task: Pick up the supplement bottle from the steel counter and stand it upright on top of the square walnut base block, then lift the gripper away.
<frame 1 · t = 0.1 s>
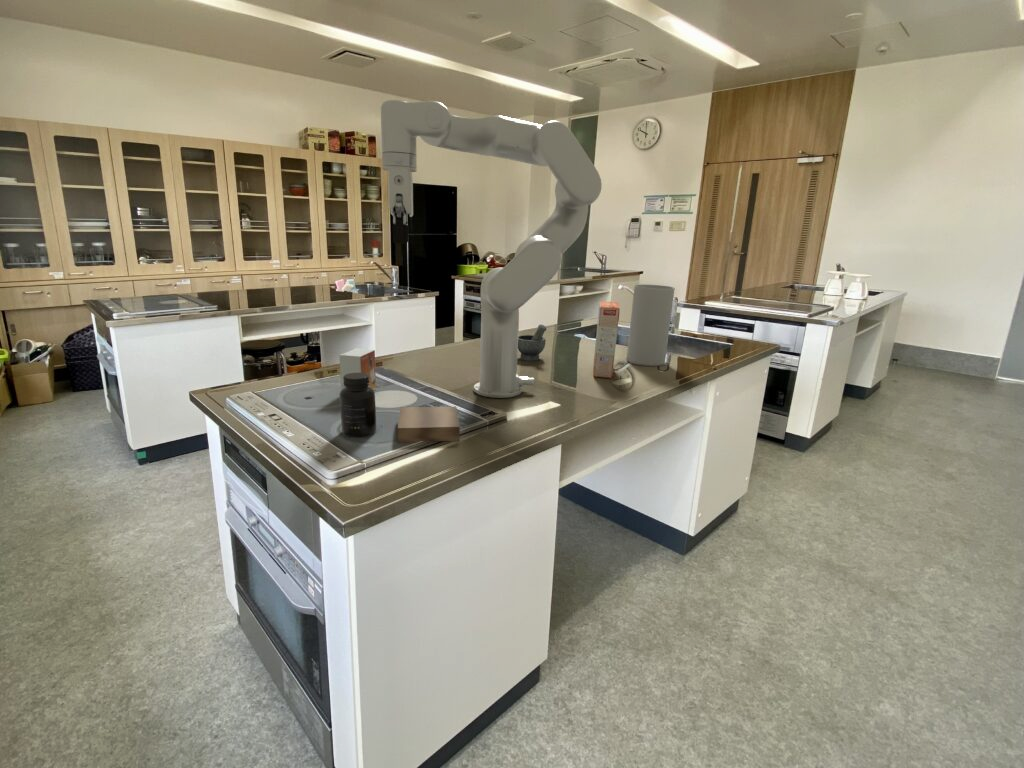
hand: (401, 242, 120), 37 cm above the countertop, tool pointing down, fingers open, 9 cm apart
cylinder vase: (645, 362, 172), on the countertop
cracker box: (602, 372, 157), on the countertop
walnut base: (428, 430, 107), on the countertop
mortar and pestle: (531, 359, 170), on the countertop
small box: (359, 393, 129), on the countertop
supplement bottle: (359, 432, 105), on the countertop
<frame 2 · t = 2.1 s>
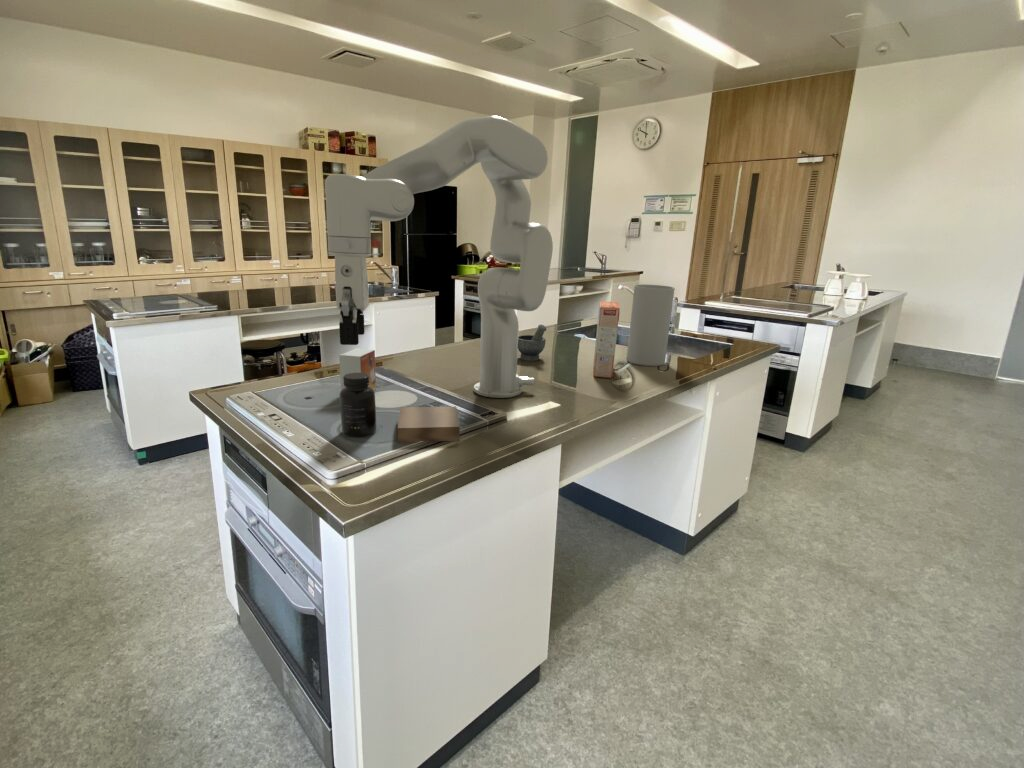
hand: (352, 339, 99), 19 cm above the countertop, tool pointing down, fingers open, 9 cm apart
nothing on the countertop moved.
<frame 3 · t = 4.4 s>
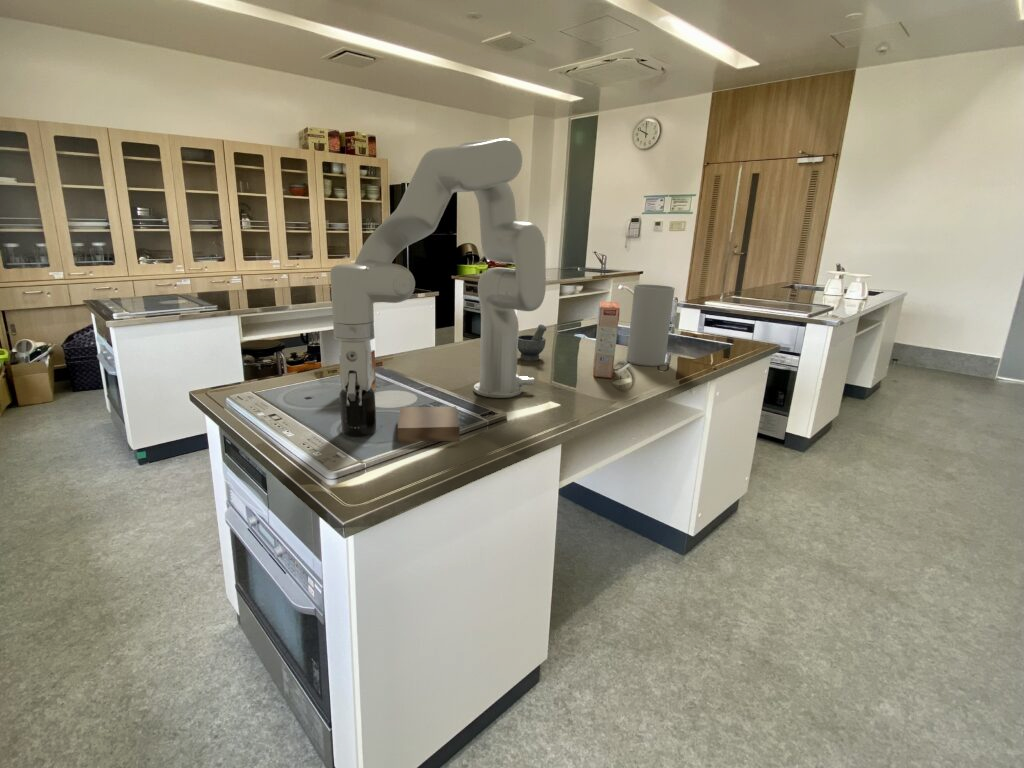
hand: (358, 416, 104), 3 cm above the countertop, tool pointing down, fingers closed on supplement bottle, 6 cm apart
supplement bottle: (359, 432, 105), on the countertop, touching gripper
everything else where it was.
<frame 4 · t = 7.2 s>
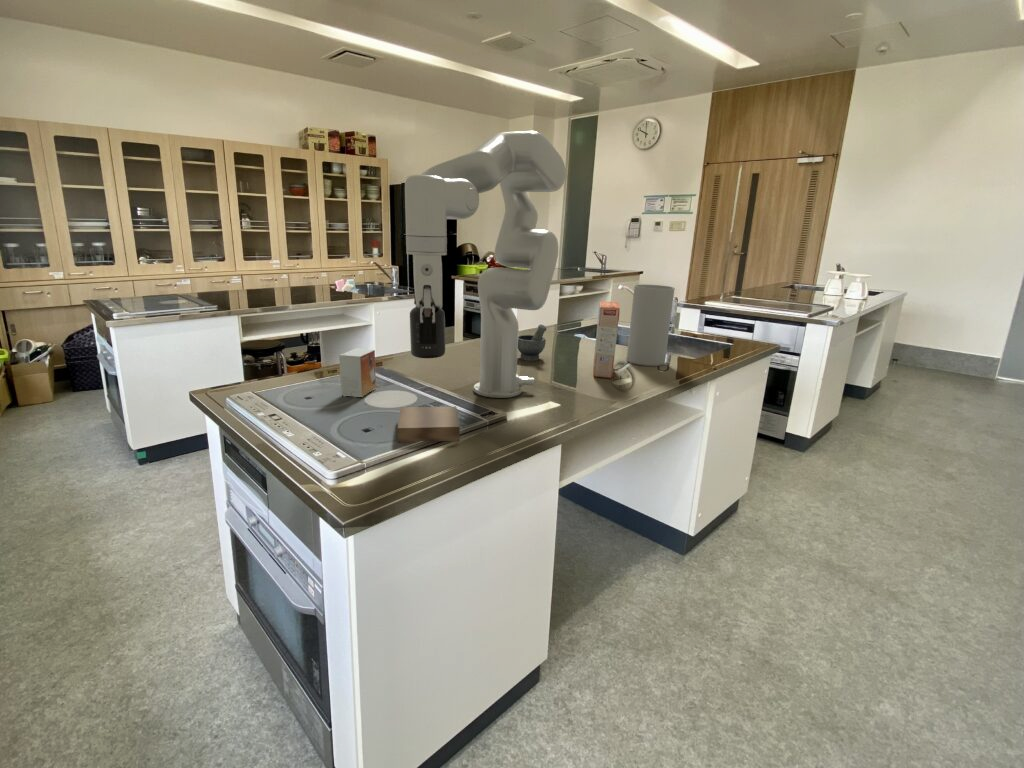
hand: (427, 338, 102), 19 cm above the countertop, tool pointing down, fingers closed on supplement bottle, 6 cm apart
supplement bottle: (428, 355, 103), point 16 cm above the countertop, touching gripper
everything else where it was.
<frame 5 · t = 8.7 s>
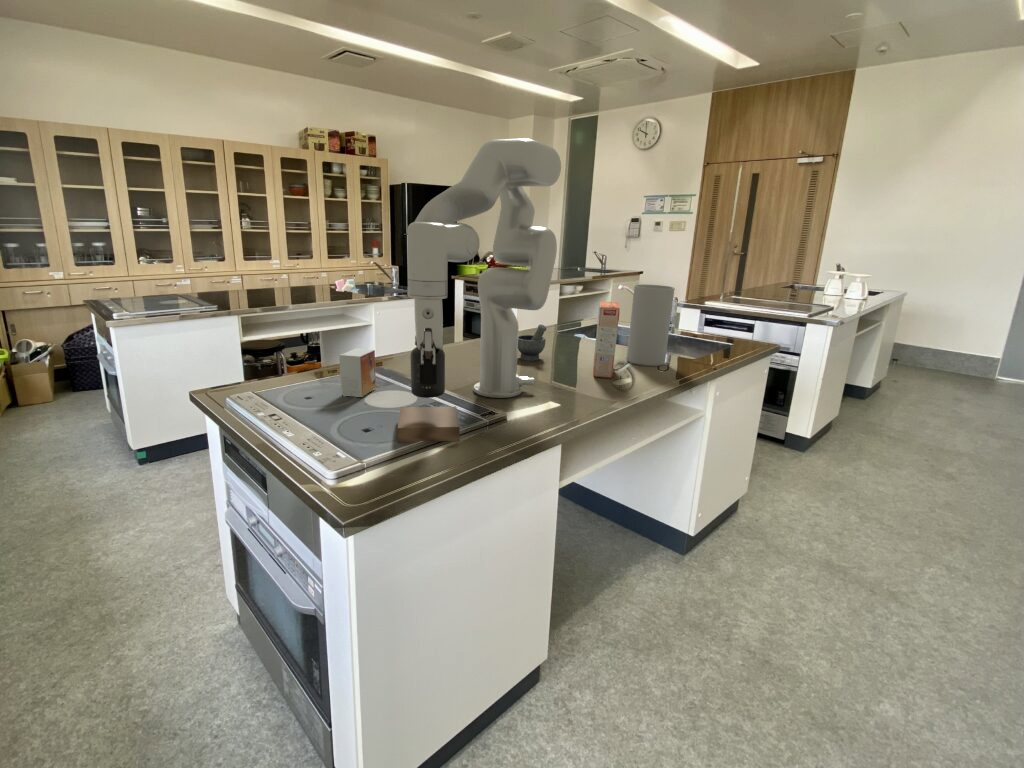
hand: (428, 378, 104), 11 cm above the countertop, tool pointing down, fingers closed on supplement bottle, 6 cm apart
supplement bottle: (428, 394, 104), point 8 cm above the countertop, touching gripper
everything else where it was.
when the fingers open (8 cm above the countertop, at t = 10.0 s): supplement bottle drops 1 cm, resting on walnut base.
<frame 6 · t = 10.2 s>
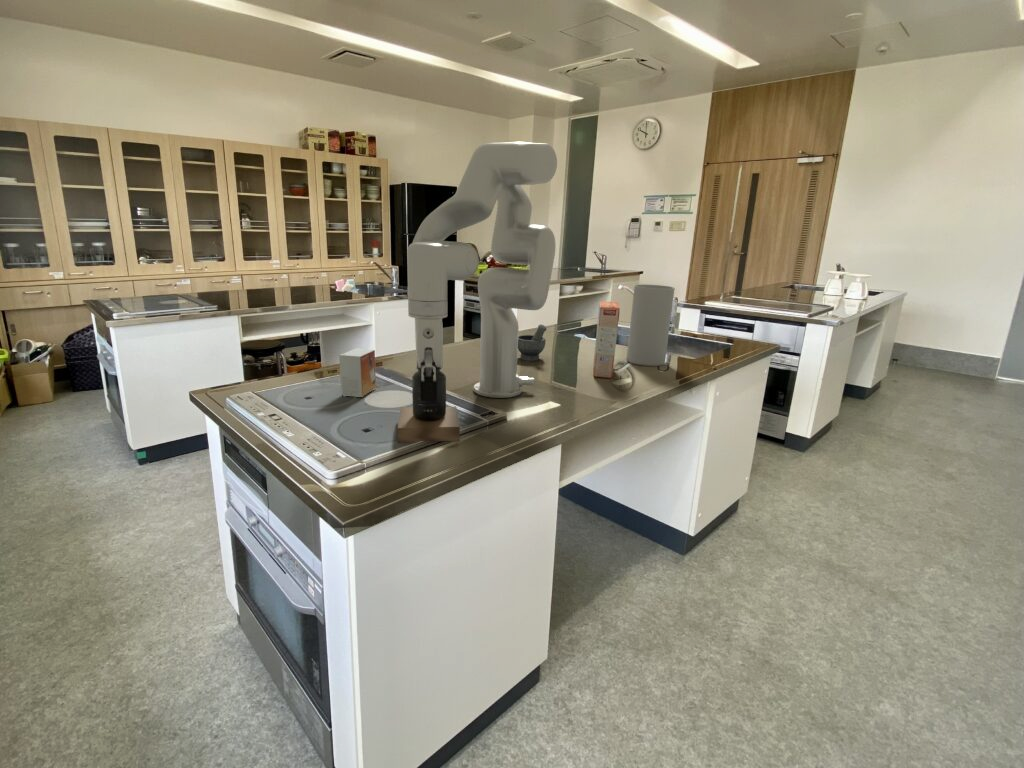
hand: (428, 393, 105), 8 cm above the countertop, tool pointing down, fingers open, 8 cm apart
supplement bottle: (429, 416, 106), point 3 cm above the countertop, touching walnut base
everything else where it was.
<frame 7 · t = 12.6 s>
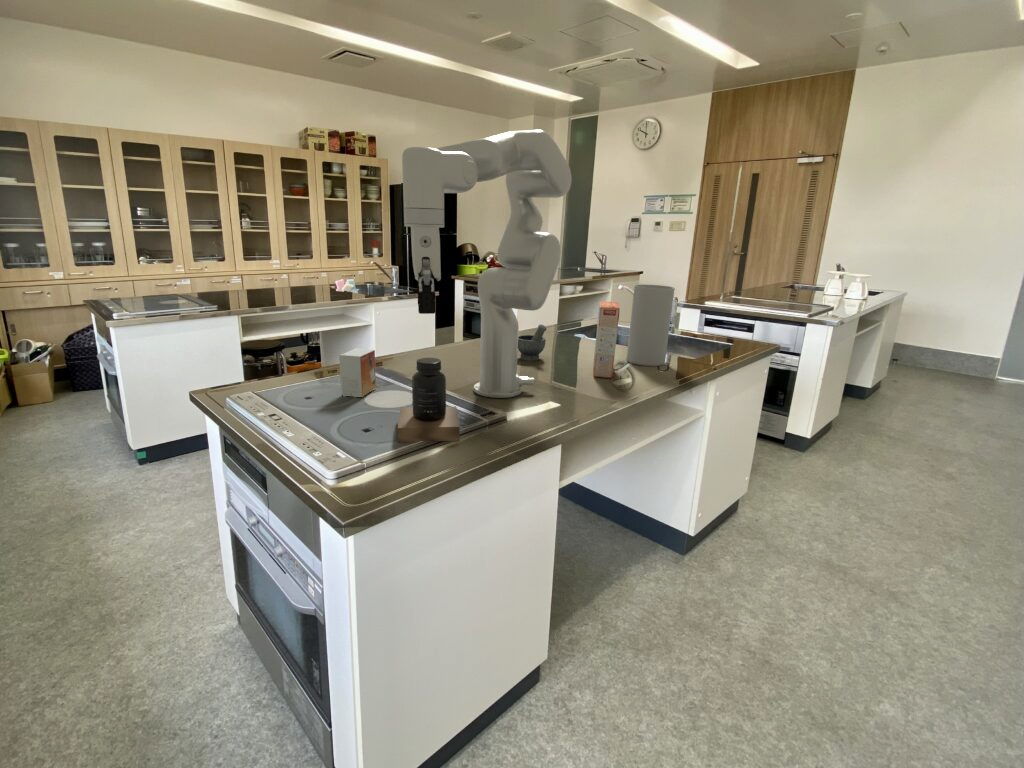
hand: (426, 308, 102), 25 cm above the countertop, tool pointing down, fingers open, 9 cm apart
nothing on the countertop moved.
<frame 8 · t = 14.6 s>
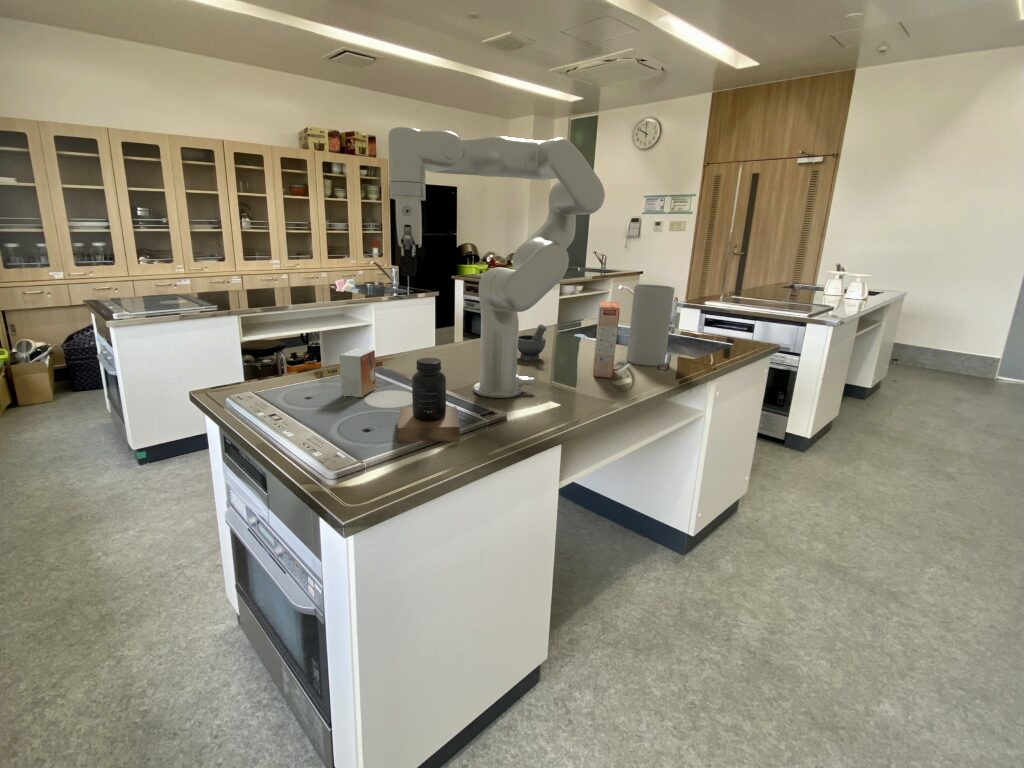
hand: (409, 273, 114), 30 cm above the countertop, tool pointing down, fingers open, 9 cm apart
nothing on the countertop moved.
at the end: supplement bottle 0.1 cm off-centre on the walnut base, point 2.8 cm above the walnut base's base; supplement bottle tilted 0°; the gripper is holding nothing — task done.
